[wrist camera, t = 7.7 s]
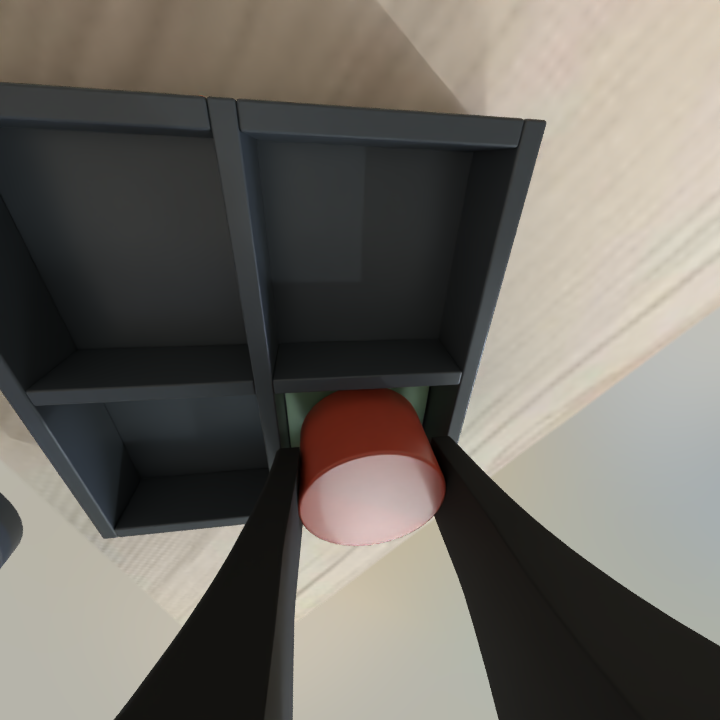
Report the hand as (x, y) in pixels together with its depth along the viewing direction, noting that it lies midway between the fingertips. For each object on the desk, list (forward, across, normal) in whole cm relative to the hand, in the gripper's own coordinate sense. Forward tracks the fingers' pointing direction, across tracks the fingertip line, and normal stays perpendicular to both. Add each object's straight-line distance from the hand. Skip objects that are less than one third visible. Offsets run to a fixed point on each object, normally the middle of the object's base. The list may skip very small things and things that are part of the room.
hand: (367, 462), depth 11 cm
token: (+1, 0, 0) cm, 1 cm away
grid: (+3, +3, -3) cm, 5 cm away
